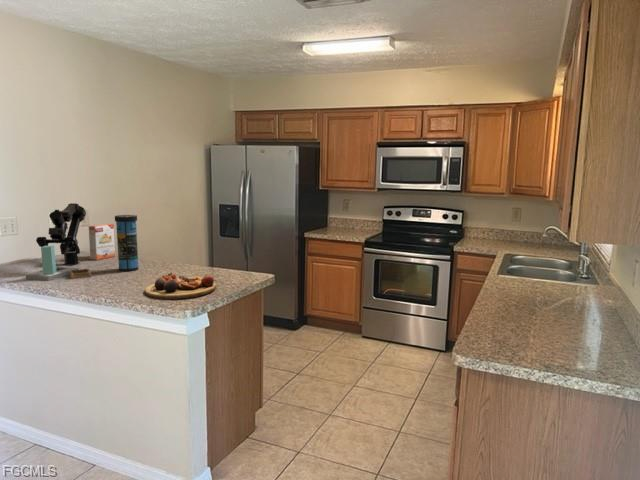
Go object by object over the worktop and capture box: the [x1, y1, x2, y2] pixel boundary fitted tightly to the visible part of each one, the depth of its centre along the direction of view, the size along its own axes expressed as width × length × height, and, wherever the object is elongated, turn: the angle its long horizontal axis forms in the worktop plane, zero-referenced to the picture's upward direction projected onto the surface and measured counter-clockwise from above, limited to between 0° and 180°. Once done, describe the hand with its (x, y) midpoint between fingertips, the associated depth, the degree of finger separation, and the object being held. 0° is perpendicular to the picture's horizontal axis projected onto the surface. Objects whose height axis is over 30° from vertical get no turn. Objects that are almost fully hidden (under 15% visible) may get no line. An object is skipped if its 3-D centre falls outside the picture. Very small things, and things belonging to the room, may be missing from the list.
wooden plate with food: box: [144, 272, 217, 300], centre depth 211 cm, size 32×32×8 cm
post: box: [40, 245, 57, 275], centre depth 228 cm, size 4×4×14 cm
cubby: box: [68, 268, 92, 280], centre depth 234 cm, size 9×9×2 cm
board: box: [25, 266, 80, 281], centre depth 235 cm, size 14×20×2 cm
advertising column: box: [114, 214, 139, 273], centre depth 247 cm, size 11×11×30 cm
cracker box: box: [88, 223, 116, 261], centre depth 278 cm, size 14×6×21 cm, turn 157°
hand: (54, 254), depth 236 cm, fingers open, 9 cm apart
